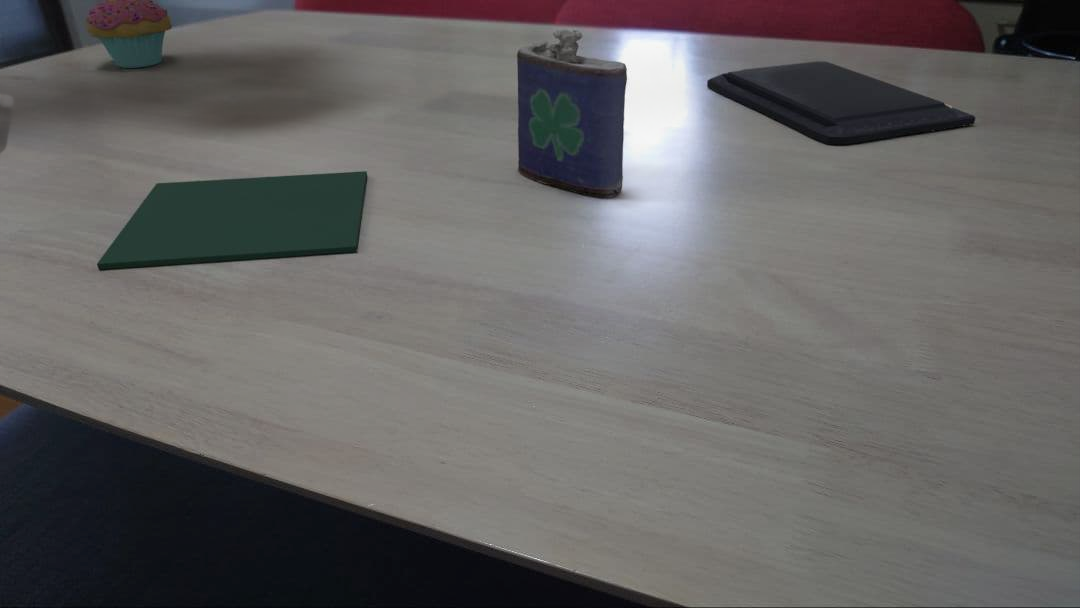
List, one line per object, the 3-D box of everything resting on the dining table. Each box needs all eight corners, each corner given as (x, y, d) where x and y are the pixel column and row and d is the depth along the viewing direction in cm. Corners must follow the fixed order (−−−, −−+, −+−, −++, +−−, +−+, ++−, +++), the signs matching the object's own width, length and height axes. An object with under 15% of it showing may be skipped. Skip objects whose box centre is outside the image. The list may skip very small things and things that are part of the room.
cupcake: (128, 76, 88) (96, -45, 82) (81, 66, 92) (47, -49, 86) (195, 59, 94) (170, -54, 88) (148, 51, 98) (121, -58, 92)
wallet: (705, 66, 81) (836, 53, 85) (703, 85, 82) (832, 71, 86) (828, 124, 64) (983, 105, 68) (824, 148, 65) (977, 127, 69)
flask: (629, 191, 58) (635, 34, 52) (603, 203, 56) (607, 42, 51) (533, 162, 63) (530, 17, 58) (507, 172, 61) (501, 24, 56)
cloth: (98, 269, 48) (96, 263, 48) (157, 188, 59) (156, 183, 59) (356, 252, 50) (356, 246, 50) (367, 176, 61) (366, 171, 61)
